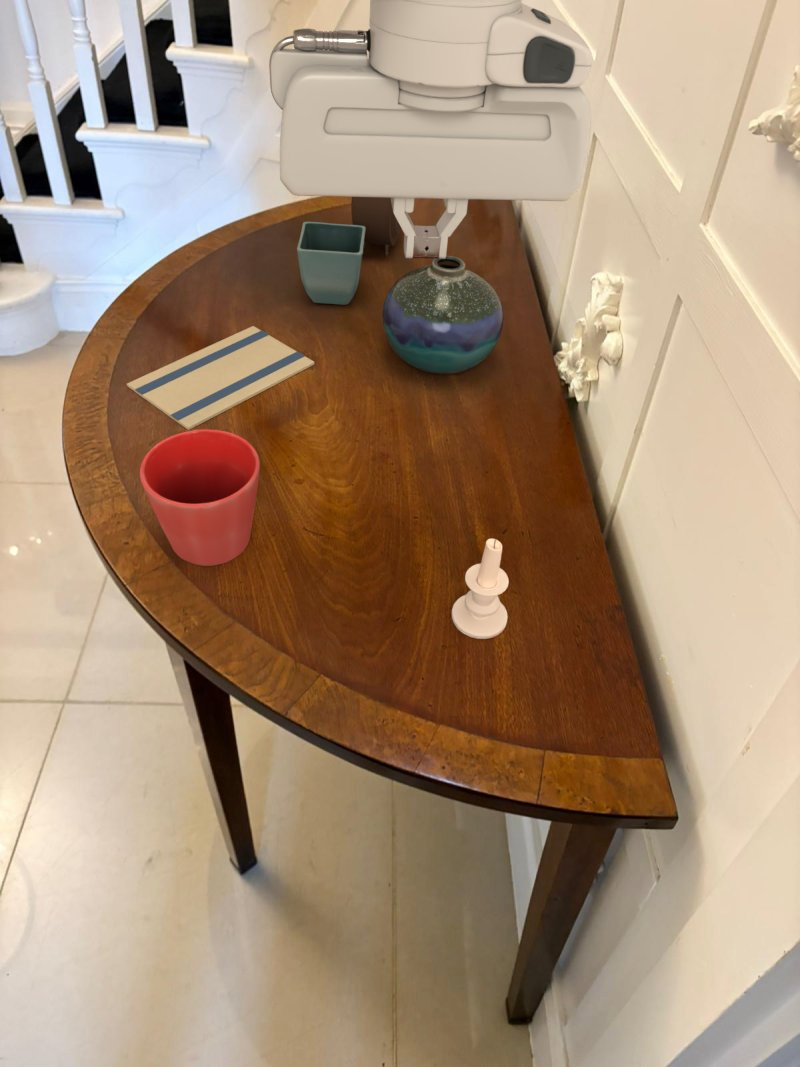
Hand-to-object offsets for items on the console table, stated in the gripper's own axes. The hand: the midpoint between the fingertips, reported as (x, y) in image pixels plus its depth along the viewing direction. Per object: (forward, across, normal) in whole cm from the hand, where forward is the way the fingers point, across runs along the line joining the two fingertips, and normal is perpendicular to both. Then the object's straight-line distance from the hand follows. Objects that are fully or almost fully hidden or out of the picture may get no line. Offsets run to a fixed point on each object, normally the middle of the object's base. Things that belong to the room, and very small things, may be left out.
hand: (424, 255), depth 57 cm
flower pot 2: (+31, -5, +51) cm, 60 cm away
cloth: (+31, -19, +31) cm, 48 cm away
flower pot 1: (+31, -19, +2) cm, 36 cm away
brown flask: (+31, +3, +68) cm, 75 cm away
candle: (+31, +7, -9) cm, 33 cm away
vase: (+31, +8, +35) cm, 48 cm away
